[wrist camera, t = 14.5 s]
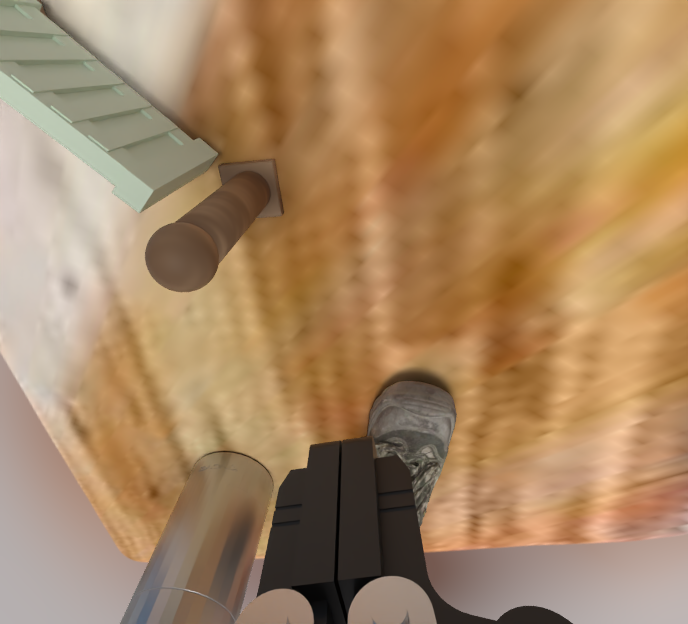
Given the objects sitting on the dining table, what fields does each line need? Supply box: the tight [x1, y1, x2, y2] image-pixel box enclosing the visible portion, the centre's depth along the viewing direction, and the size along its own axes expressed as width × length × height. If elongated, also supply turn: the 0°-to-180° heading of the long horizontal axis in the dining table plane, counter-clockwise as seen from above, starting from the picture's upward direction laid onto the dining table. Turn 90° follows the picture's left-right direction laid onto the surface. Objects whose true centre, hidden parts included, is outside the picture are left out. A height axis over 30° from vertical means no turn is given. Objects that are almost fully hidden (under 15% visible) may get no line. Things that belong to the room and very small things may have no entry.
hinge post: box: [145, 159, 284, 292], centre depth 27 cm, size 4×4×15 cm
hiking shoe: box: [367, 381, 457, 528], centre depth 42 cm, size 9×21×12 cm, turn 167°
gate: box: [0, 0, 218, 213], centre depth 25 cm, size 15×2×10 cm, turn 49°
